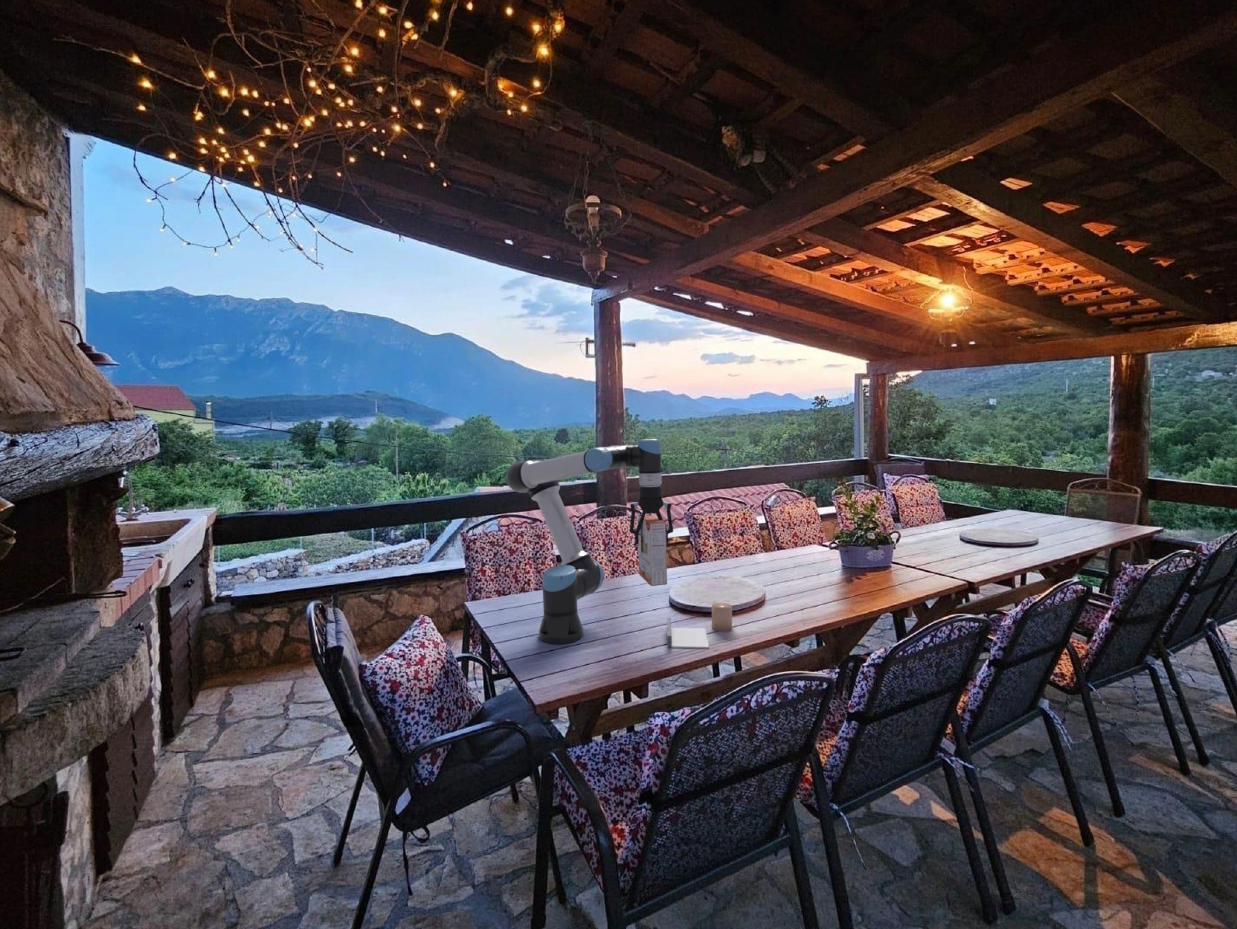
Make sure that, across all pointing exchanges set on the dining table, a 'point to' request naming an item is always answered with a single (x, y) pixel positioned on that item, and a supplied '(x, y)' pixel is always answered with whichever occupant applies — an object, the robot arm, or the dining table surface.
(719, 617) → the peach domed knob
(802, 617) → the dining table surface
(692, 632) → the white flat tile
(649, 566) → the cracker box
